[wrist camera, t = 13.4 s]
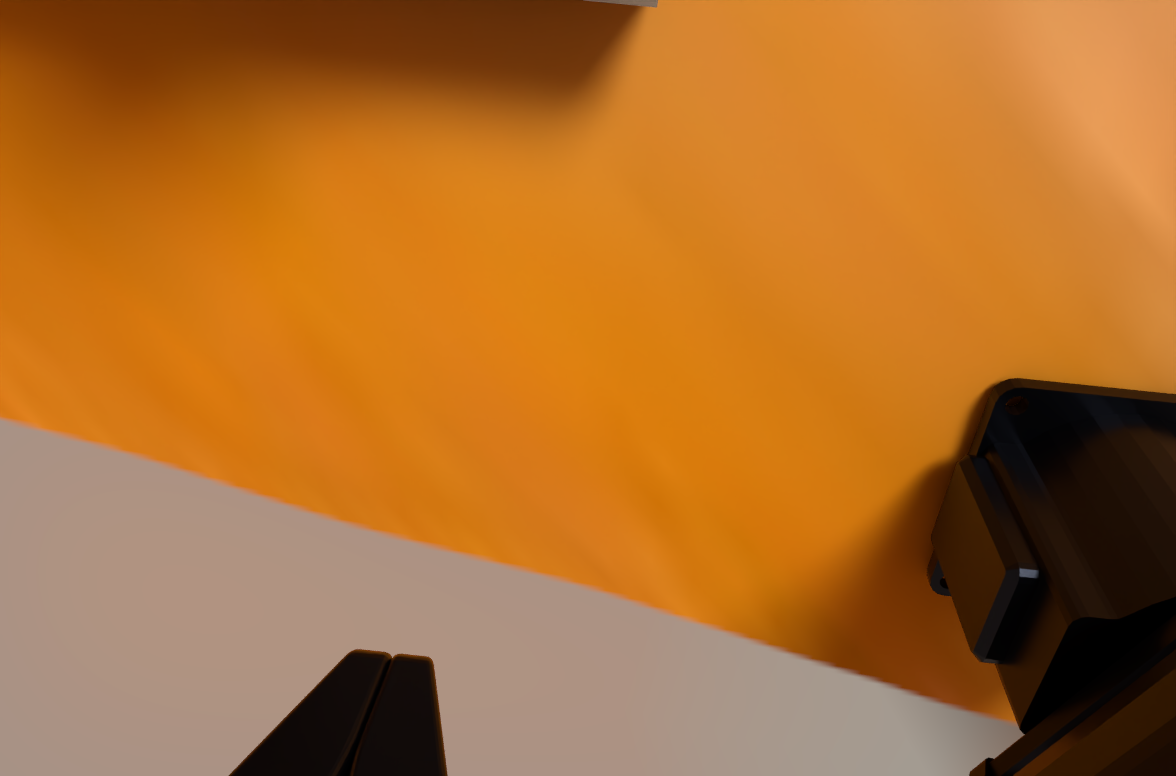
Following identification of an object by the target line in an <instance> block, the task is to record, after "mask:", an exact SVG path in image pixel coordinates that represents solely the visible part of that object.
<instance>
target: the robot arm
mask: <svg viewBox="0 0 1176 776" xmlns="http://www.w3.org/2000/svg"><path fill="white" fill-rule="evenodd" d="M1018 396H1021V397H1023V398H1022V399H1021V401H1020V402H1019V403H1017V404H1015V405H1010V406H1007V405H1006V403H1007V402H1008V401H1009V400H1010V399H1012V398H1013V397H1018ZM931 541H932V543H933V546H934V551H933V554H932V557H931V560H930V563H929V565H928V568H927V577H928V580H929V583H930V586H931V588H932V590H933V591H935V592H936V593H937V594H940V595H944V596H951V597H952V599H953V602H954V605H955V608H956V611H957V614H958V616H959V619H960V622H961V625H962V628H963V630H964V633H965V636H966V639H967V642H968V644H969V647H970V650H971V652H972V653H973V654H974V655H975V657H976V658H977V659H978V660H979V662H986V663H995V665H996V668H997V671H998V673H999V676H1000V678H1001V681H1002V684H1003V686H1004V689H1005V692H1006V694H1007V697H1008V700H1009V702H1010V705H1011V707H1012V710H1013V713H1014V715H1015V718H1016V721H1017V723H1018V726H1019V729H1020V730H1021V731H1022V733H1023V734H1025V735H1024V736H1022V737H1021V738H1020V739H1019V740H1017V741H1016V742H1015V743H1014V744H1012V745H1011V746H1010V747H1009V748H1007V749H1006V750H1005V751H1004V752H1002V753H1001V754H1000V755H999V756H997V757H996V758H995V759H993V758H987V759H985V760H984V761H983V762H982V763H980V764H979V765H978V766H977V767H975V768H974V769H973V770H972V771H970V774H969V776H1176V394H1167V393H1157V392H1147V391H1138V390H1128V389H1118V388H1108V387H1099V386H1089V385H1079V384H1069V383H1060V382H1050V381H1040V380H1030V379H1021V378H1014V379H1008V380H1005V381H1003V382H1001V383H999V384H998V385H997V386H995V387H994V389H993V390H992V392H991V394H990V396H989V399H988V401H987V404H986V407H985V410H984V413H983V415H982V418H981V421H980V424H979V426H978V429H977V432H976V435H975V438H974V440H973V443H972V446H971V449H970V451H969V454H968V455H966V456H964V457H963V458H962V459H961V460H960V461H959V462H957V464H956V467H955V470H954V472H953V475H952V478H951V481H950V484H949V487H948V489H947V492H946V495H945V498H944V501H943V503H942V506H941V509H940V512H939V515H938V518H937V520H936V523H935V526H934V529H933V532H932V535H931ZM942 577H945V578H942ZM229 776H447V768H446V759H445V751H444V743H443V735H442V727H441V719H440V712H439V703H438V695H437V687H436V679H435V671H434V664H433V661H432V659H431V658H429V657H426V656H417V655H408V654H397V655H395V656H394V657H393V658H392V656H391V655H390V654H389V653H386V652H380V651H370V650H362V649H356V650H353V651H351V652H349V653H348V654H347V655H346V656H345V657H344V658H343V659H342V660H341V661H340V662H339V663H338V664H337V665H336V666H335V667H334V668H333V669H332V670H331V671H330V672H329V673H328V674H327V675H326V676H325V677H324V678H323V679H322V680H321V682H319V684H318V685H317V686H316V687H315V688H314V689H313V690H312V691H311V692H310V693H309V694H308V695H307V696H306V697H305V698H304V699H303V700H302V701H301V702H300V703H299V704H298V705H297V706H296V707H295V708H294V709H293V710H292V711H291V712H290V713H289V714H288V715H287V717H285V718H284V719H283V720H282V721H281V722H280V724H278V726H277V727H276V728H275V729H274V730H273V731H272V732H271V733H270V734H269V735H268V736H267V737H266V738H265V739H264V740H263V741H262V742H261V743H260V744H259V745H258V746H257V747H256V748H255V749H254V750H253V751H252V752H251V753H250V754H249V755H248V756H247V757H246V758H245V759H244V760H243V761H242V762H241V764H240V765H238V767H237V768H236V769H235V770H234V771H233V772H232V773H231V774H230V775H229Z"/></svg>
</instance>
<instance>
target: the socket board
mask: <svg viewBox="0 0 1176 776" xmlns="http://www.w3.org/2000/svg"><path fill="white" fill-rule="evenodd" d="M585 1H595V2H605V3H616V4H626V5H637V6H647V7H657V3H658V0H585Z"/></svg>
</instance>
